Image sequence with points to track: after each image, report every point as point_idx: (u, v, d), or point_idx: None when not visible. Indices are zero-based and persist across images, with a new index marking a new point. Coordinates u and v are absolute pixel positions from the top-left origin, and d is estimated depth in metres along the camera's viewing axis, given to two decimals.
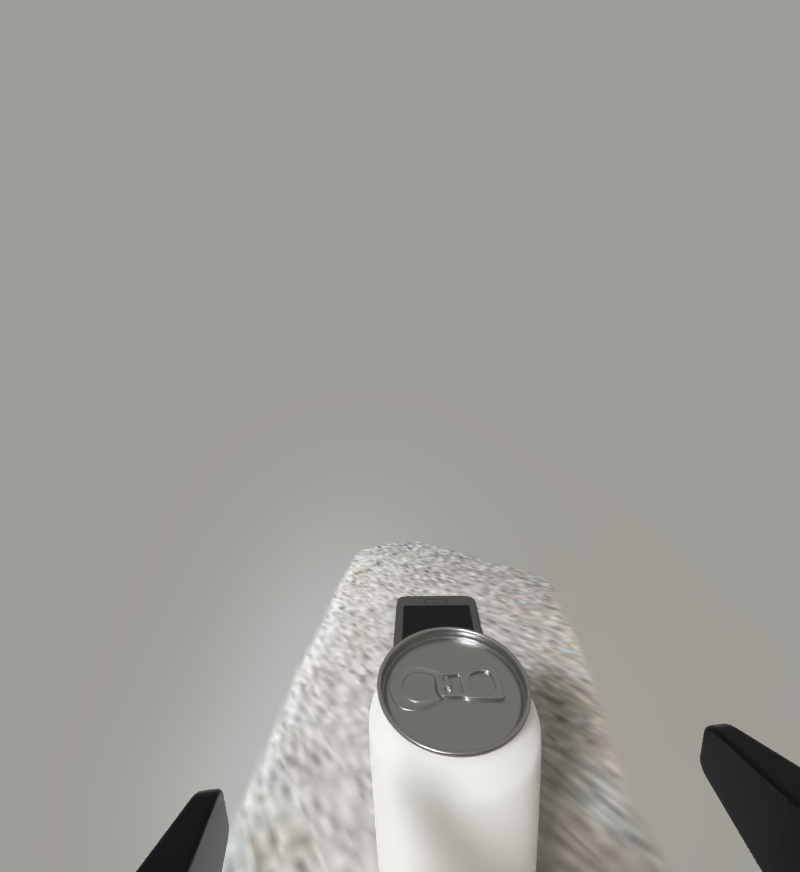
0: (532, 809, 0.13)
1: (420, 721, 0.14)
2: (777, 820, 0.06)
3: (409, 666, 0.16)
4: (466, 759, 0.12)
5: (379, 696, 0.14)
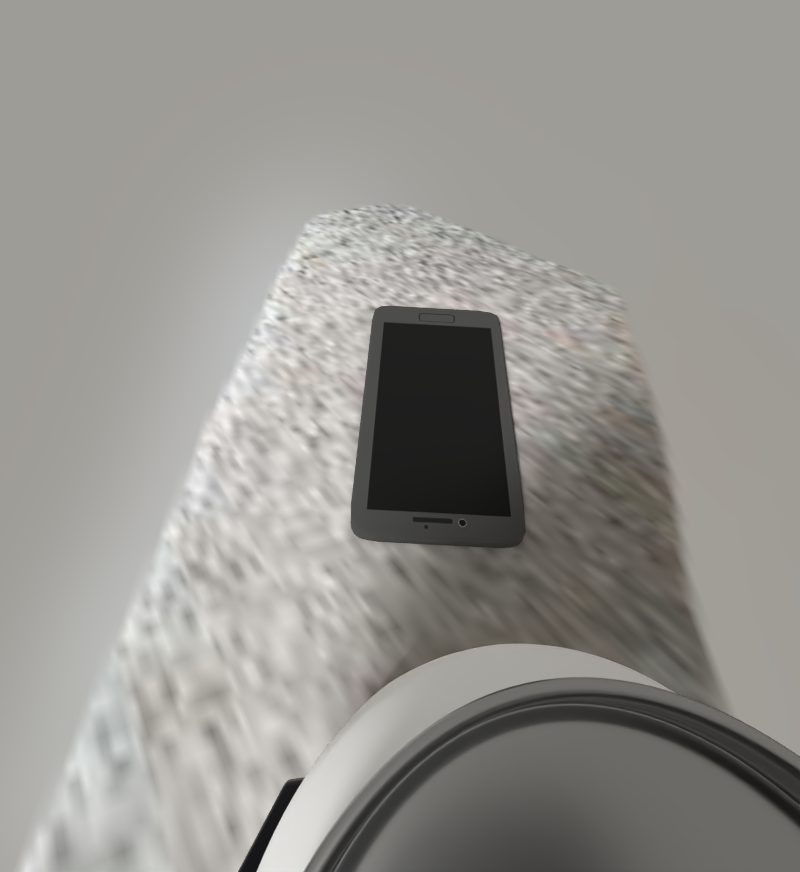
0: None
1: None
2: None
3: None
4: None
5: None
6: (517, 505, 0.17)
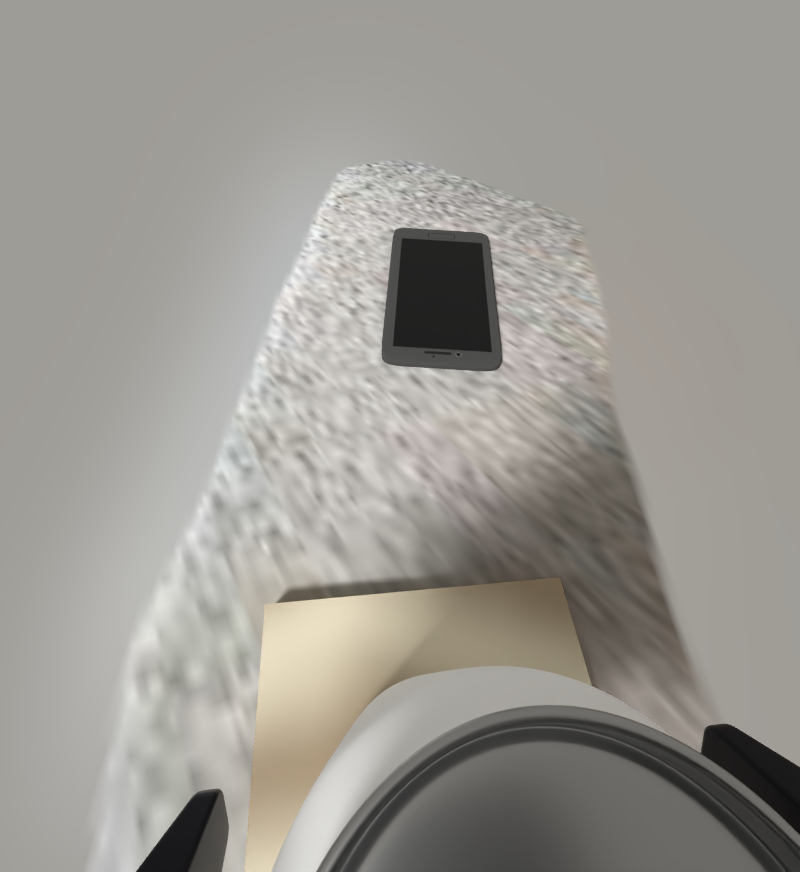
0: None
1: None
2: None
3: None
4: None
5: None
6: (496, 346, 0.24)
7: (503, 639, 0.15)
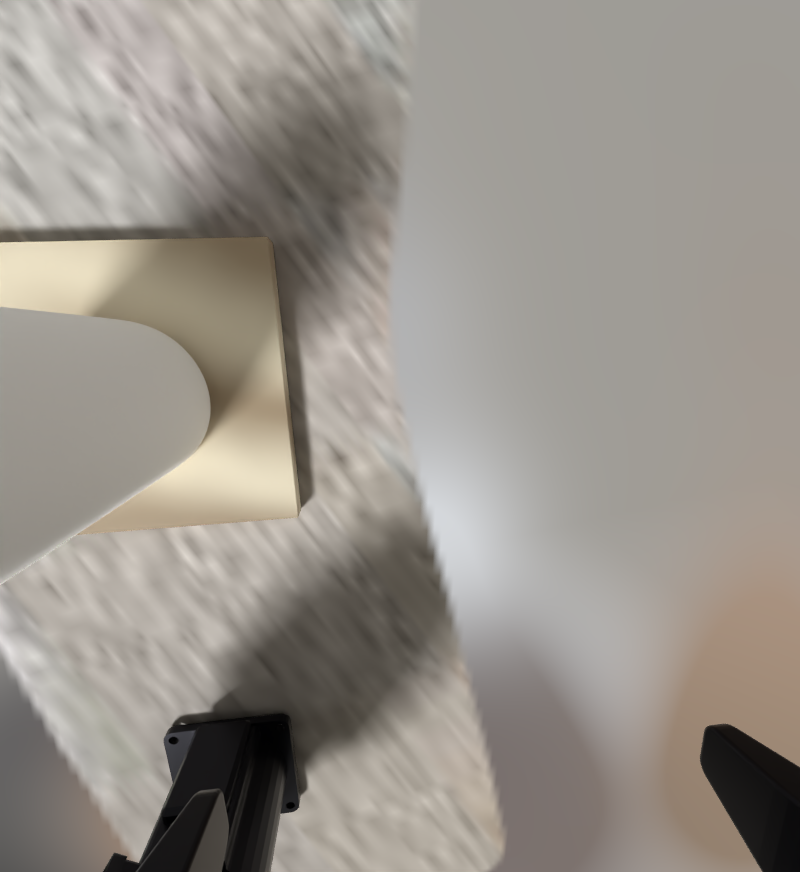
0: (44, 550, 0.09)
1: None
2: (777, 820, 0.06)
3: None
4: None
5: None
6: None
7: (199, 294, 0.16)
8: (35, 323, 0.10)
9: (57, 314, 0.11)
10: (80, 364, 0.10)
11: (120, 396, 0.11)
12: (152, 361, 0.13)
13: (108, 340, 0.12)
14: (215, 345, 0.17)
